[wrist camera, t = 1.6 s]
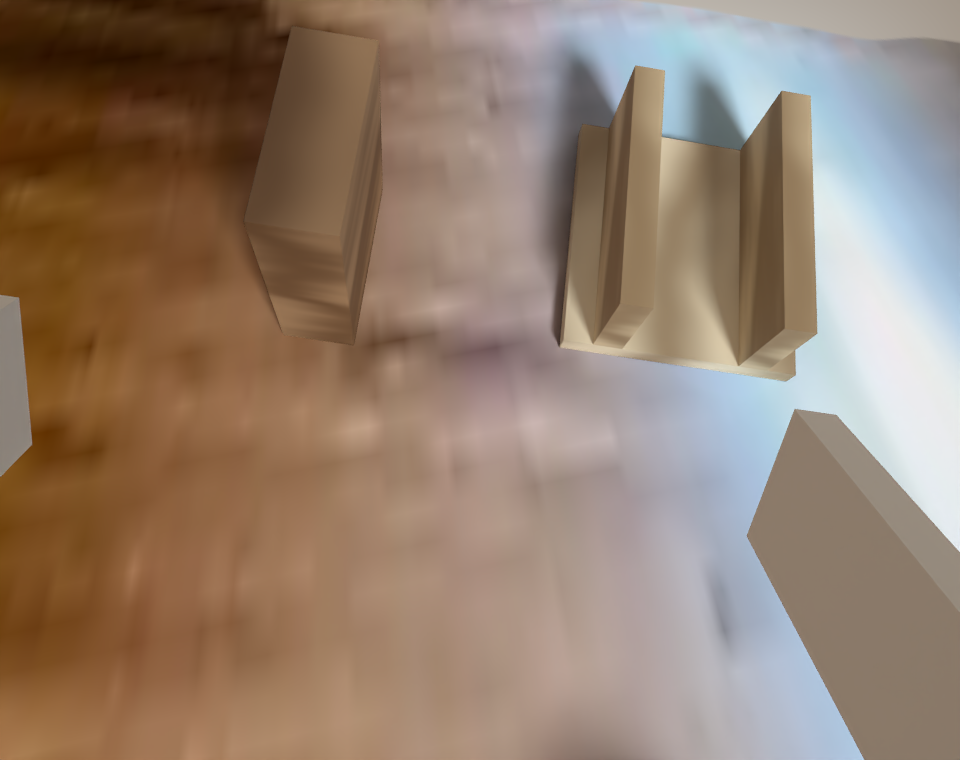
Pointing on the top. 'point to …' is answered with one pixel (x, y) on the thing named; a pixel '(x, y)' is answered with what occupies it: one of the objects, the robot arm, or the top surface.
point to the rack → (693, 240)
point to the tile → (319, 184)
